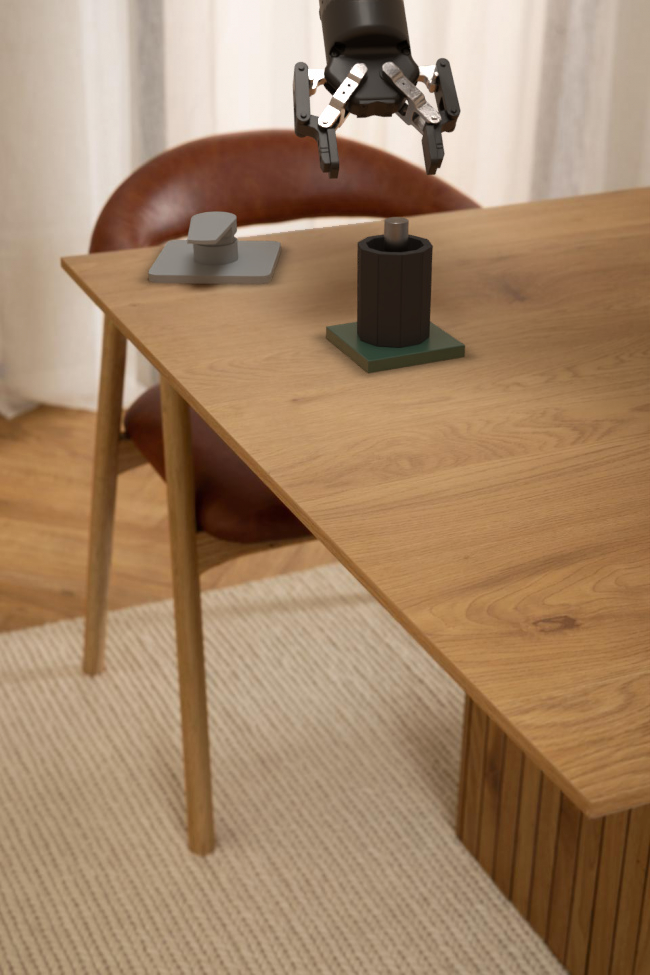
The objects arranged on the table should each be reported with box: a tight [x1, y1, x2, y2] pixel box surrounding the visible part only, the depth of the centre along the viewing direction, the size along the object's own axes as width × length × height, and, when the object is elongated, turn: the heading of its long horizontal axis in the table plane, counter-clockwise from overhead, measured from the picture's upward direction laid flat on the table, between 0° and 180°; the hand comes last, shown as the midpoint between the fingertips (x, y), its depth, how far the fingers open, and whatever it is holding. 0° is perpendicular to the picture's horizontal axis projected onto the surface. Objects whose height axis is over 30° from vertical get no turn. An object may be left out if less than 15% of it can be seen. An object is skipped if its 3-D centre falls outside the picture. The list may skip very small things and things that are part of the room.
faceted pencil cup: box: [356, 233, 434, 348], centre depth 100 cm, size 6×6×8 cm
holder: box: [325, 216, 466, 374], centre depth 100 cm, size 9×9×11 cm
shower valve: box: [147, 211, 282, 285], centre depth 121 cm, size 12×6×15 cm
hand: (384, 172), depth 101 cm, fingers open, 8 cm apart
